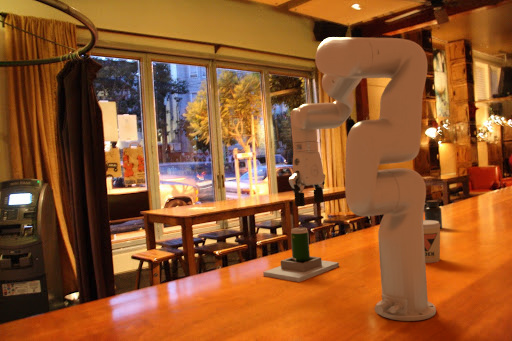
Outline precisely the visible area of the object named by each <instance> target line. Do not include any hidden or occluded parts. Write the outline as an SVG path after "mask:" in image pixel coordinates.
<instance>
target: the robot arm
mask: <svg viewBox="0 0 512 341" xmlns="http://www.w3.org/2000/svg"><path fill="white" fill-rule="evenodd" d="M314 60H315V66H316V68H317V70H318V71H319V72H320V73H322V74H324V75H323V76H322V78H321V87H322V89H323V91H324V92H325V93H326V94H327V95H328V97H330V98H331V99H334V100H335V101H333V102H316V103H314V102H313V103H304V104H302V105H300V106H298V107H297V108H293V109H292V110H291V112H290V124H291V125H290V126H291V136H292V147H293V148H292V151H293V155H292V175H291V176H290V177H289V178H288V182H289V185H290V189H291V190H292V193H293V195H294V205H295V207H305V206H306V203H305V201H306V200H305V193H304V189H305V186H313V188H314V189H313V201H314V203H324V202H325V201H324V188H325V186H324V185H325V184H326V183H325V182H326V174H325V173H324V169H323V162H322V157H321V154H320V151H319V146H318V145H319V144H318V142H319V141H318V132H317V131H318V130H328V129H331V130H332V129H337V128H339V127H341V126H342V125H343V124H344V123H345V122H346V121H347V120H348V118H349V117H350V116H351V115H352V113H353V110H354V104H355V97H354V93H353V91H355V89H356V88H357V86H358V85H359V84H360V82H362V79H384V78H385V79H390V81H389V82H388V83H387V84H386V86H385V87H384V90H383V92H382V93H381V96H380V102H379V108H380V109H379V118H378V119H366V120H365V119H364V120H361V121H358V122H357V123H355V124H354V125H353V126H352V127H351V128H350V130H349V132H348V134H347V138H346V142H345V143H346V144H345V176H344V177H345V180H344V183H345V185H344V186H345V187H344V190H345V191H344V193H345V201H346V204H347V206H348V208H349V210H350V212H351V213H353V214H355V216H359V217H373V216H374V217H375V216H380V215H381V216H382V215H383V216H382V218H381V220H380V223H379V227H378V231H377V232H378V235H377V236H378V251H379V254H378V255H379V269H380V282H381V300H380V301H378V302H377V303H376V304H375V306H374V311H375V313H376V314H377V315H380V316H381V317H383V318H386V319H388V320H389V319H390V320H393V321H400V322H411V321H412V322H415V321H424V320H428V319H430V318H433V317H434V316H435V315H436V312H437V308H436V306H435V304H434V303H432V302H431V301H428V300H429V299H428V287H427V286H428V285H427V283H428V282H427V272H426V271H427V270H426V263H425V250H424V232H423V220H424V215H425V203H426V197H427V186H426V183H425V180H424V178H423V177H422V175H421V174H420V173H419V172H417V171H415V170H413V169H411V168H405V167H400V168H399V167H397V168H386V169H385V168H384V169H379V166H380V165H381V166H382V165H389V164H392V165H393V164H401V163H406V162H410V161H412V160H414V159H415V158H416V157H417V156H418V155H419V153H420V150H421V141H422V140H421V138H422V117H423V116H422V114H423V94H424V91H425V86H426V85H425V84H426V81H427V75H428V59H427V55H426V52H425V50H424V49H423V48H422V46H421V45H420V44H418V43H416V42H415V41H412V40H410V39H404V38H398V37H395V38H394V37H359V36H358V37H355V36H354V37H353V36H351V37H350V36H349V37H344V36H343V37H340V36H339V37H338V36H336V37H335V36H332V37H327V38H325V39H323V41H321V43H320V44H319V45H318V47H317V50H316V52H315V59H314Z"/></svg>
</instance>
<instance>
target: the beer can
mask: <svg viewBox="0 0 512 341" xmlns="http://www.w3.org/2000/svg"><path fill="white" fill-rule="evenodd" d="M309 239H310V238H309V231H308V228H307V227H294V228H293V227H292V228H291V230H290V240H291V243H290V244H291V253H292V254H291V255H292V256H291V257H292V258H293V262H300V263H304V262H307V261H310V256H311V254H310V241H309Z"/></svg>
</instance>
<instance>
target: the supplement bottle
mask: <svg viewBox="0 0 512 341" xmlns="http://www.w3.org/2000/svg"><path fill="white" fill-rule="evenodd" d="M425 203H426V206H425V207H424V220H433V221H438V222H439V224H440V230H441V229H442V228H443V218H442V216H443V215H442V208H441V207H440V206H439V205H440V203H439V200H433V199H432V200H425Z"/></svg>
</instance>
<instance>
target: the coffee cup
mask: <svg viewBox="0 0 512 341" xmlns="http://www.w3.org/2000/svg"><path fill="white" fill-rule="evenodd" d="M423 232H424V250H425V264H429V263H437V262H440V259H441V258H440V257H441V255H440V254H441V251H440V250H441V229H440V224H439V222H438V221H433V220H425V219H423Z"/></svg>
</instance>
